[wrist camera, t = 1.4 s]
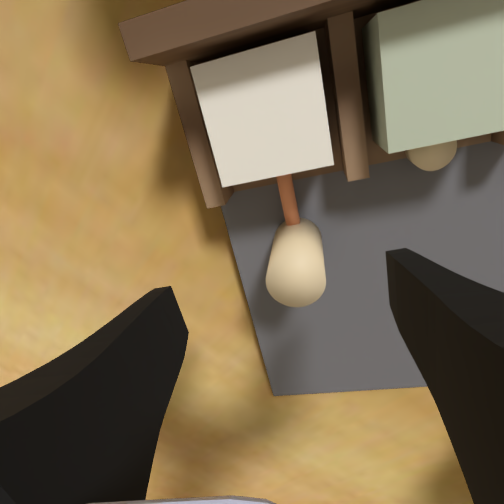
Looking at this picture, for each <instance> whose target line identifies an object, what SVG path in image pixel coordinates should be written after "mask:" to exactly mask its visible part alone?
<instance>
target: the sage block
mask: <svg viewBox="0 0 504 504" xmlns="http://www.w3.org/2000/svg"><path fill="white" fill-rule="evenodd" d="M362 38H363V48H364V59H365V69H366V80H367V90H368V101H369V111H370V122H371V132H372V140H373V141H374V142H375V143H376V144H377V145H379V146H380V147H381V148H382V149H383V150H385V151H386V152H387V153H388V154H390V153H395V152H400V151H405V153H406V156H407V158H408V159H409V161H410V162H412V163H413V164H414V165H416V166H417V167H418V168H420V169H422V170H425V171H435V170H439V169H441V168H443V167H445V166H446V165H447V164H449V163H450V161H451V160H452V159H453V157H454V156H455V153H456V150H457V141H456V140H460V139H465V138H470V137H474V136H479V135H484V134H489V133H494V132H499V131H504V0H421V1H418V2H414V3H411V4H407V5H404V6H400V7H397V8H393V9H390V10H386V11H383V12H379V13H377V14H376V15H375V16H374V17H373V18H372V19H371V20H370V21H369V22H368V23H367V24H366V25H365V26H364V27H363V28H362Z"/></svg>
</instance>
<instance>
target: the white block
mask: <svg viewBox="0 0 504 504" xmlns="http://www.w3.org/2000/svg"><path fill="white" fill-rule="evenodd" d="M190 69H191V73H192V77H193V80H194V84H195V88H196V91H197V95H198V99H199V103H200V106H201V110H202V114H203V117H204V121H205V125H206V128H207V132H208V136H209V140H210V143H211V147H212V151H213V154H214V158H215V162H216V165H217V169H218V173H219V177H220V180H221V184H222V187H227V186H232V185H237V184H242V183H247V182H252V181H257V180H262V179H267V178H272V177H276V178H277V183H278V188H279V193H280V198H281V202H282V207H283V212H284V217H285V221H284V222H283V223H282V224H281V225H280V226H279V227H278V228H277V230H276V232H275V236H274V240H273V245H272V250H271V255H270V259H269V264H268V269H267V274H266V287H267V290H268V292H269V293H270V295H271V296H272V297H273V298H274V299H275V300H276V301H278V302H279V303H281V304H283V305H286V306H289V307H304V306H307V305H310V304H312V303H314V302H315V301H317V300H318V299H319V298H320V297H321V295H322V294H323V292H324V290H325V287H326V275H325V265H324V255H323V245H322V236H321V232H320V230H319V228H318V227H317V226H316V225H315V224H314V223H313V222H312V221H310V220H308V219H305V218H299V213H298V207H297V202H296V197H295V191H294V186H293V181H292V176H291V174H292V173H296V172H301V171H306V170H311V169H316V168H321V167H326V166H331V165H334V161H333V154H332V146H331V139H330V132H329V125H328V118H327V111H326V104H325V96H324V89H323V82H322V75H321V68H320V61H319V54H318V47H317V39H316V32H315V31H313V32H310V33H306V34H303V35H299V36H296V37H292V38H289V39H285V40H282V41H278V42H275V43H271V44H268V45H264V46H261V47H258V48H254V49H251V50H247V51H244V52H240V53H237V54H233V55H230V56H226V57H223V58H219V59H216V60H212V61H209V62H205V63H202V64H198V65H195V66H191V67H190Z"/></svg>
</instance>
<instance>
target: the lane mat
mask: <svg viewBox="0 0 504 504" xmlns="http://www.w3.org/2000/svg"><path fill="white" fill-rule="evenodd" d="M368 166H369V176H370V178H365V179H360V180H355V181H349V182H348V181H347V178H346V176H345V174H344V171H338V172H333V173H328V174H323V175H318V176H312V177H307V178H302V179H297V180H292V181H293V186H294V191H295V197H296V202H297V207H298V213H299V218H305V219H308V220H310V221H312V222H313V223H314V224H315V225H316V226H317V227H318V228H319V230H320V232H321V236H322V245H323V255H324V265H325V275H326V287H325V290H324V292H323V294H322V295H321V297H320V298H319V299H318V300H317V301H315V302H314V303H312V304H310V305H307V306H304V307H289V306H286V305H283V304H281V303H279V302H278V301H276V300H275V299H274V298H273V297H272V296H271V295H270V293H269V292H268V290H267V287H266V274H267V269H268V264H269V259H270V255H271V250H272V245H273V240H274V236H275V232H276V230H277V228H278V227H279V226H280V225H281V224H282V223H283V222H284V221H285V217H284V212H283V207H282V202H281V198H280V193H279V188H278V183H277V184H272V185H267V186H262V187H257V188H252V189H247V190H242V191H237V192H234V193H233V194H232V196H231V197H230V199H229V200H228V202H227V203H226V205H223V206H221V208H222V212H223V216H224V219H225V223H226V226H227V230H228V234H229V237H230V241H231V244H232V248H233V252H234V255H235V259H236V262H237V266H238V270H239V273H240V277H241V280H242V284H243V288H244V291H245V295H246V298H247V302H248V306H249V309H250V313H251V316H252V320H253V324H254V327H255V331H256V334H257V338H258V341H259V345H260V349H261V352H262V356H263V359H264V363H265V367H266V370H267V374H268V377H269V381H270V385H271V388H272V392H273V395H274V396H282V395H298V394H314V393H330V392H346V391H361V390H377V389H393V388H409V387H424V386H427V384H426V382H425V380H424V378H423V377H422V375H421V373H420V371H419V369H418V367H417V365H416V363H415V361H414V359H413V358H412V356H411V354H410V352H409V350H408V348H407V346H406V344H405V342H404V340H403V338H402V336H401V334H400V332H399V330H398V327H397V325H396V322H395V319H394V316H393V314H392V311H391V308H390V305H389V292H388V278H387V265H386V252H385V251H390V250H396V249H402V248H407V249H410V250H412V251H414V252H416V253H418V254H420V255H422V256H423V257H425V258H427V259H429V260H431V261H433V262H435V263H437V264H439V265H441V266H443V267H445V268H447V269H449V270H451V271H453V272H455V273H457V274H459V275H462V276H464V277H466V278H468V279H471V280H473V281H475V282H478V283H480V284H483V285H485V286H487V287H490V288H493V289H495V290H498V291H501V292H504V145H502V144H499V143H495V142H492V141H489V142H484V143H479V144H474V145H469V146H464V147H459V148H457V150H456V153H455V156H454V157H453V159H452V160H451V161H450V163H449V164H447V165H446V166H445V167H443V168H441V169H439V170H435V171H425V170H422V169H420V168H418V167H417V166H416V165H414V164H413V163H412V162H410V161H409V159H408V158H403V159H398V160H393V161H388V162H383V163H378V164H373V165H368Z"/></svg>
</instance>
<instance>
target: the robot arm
mask: <svg viewBox="0 0 504 504" xmlns="http://www.w3.org/2000/svg"><path fill="white" fill-rule="evenodd" d="M385 252H386V265H387V278H388V292H389V305H390V308H391V311H392V314H393V316H394V319H395V322H396V325H397V327H398V330H399V332H400V334H401V336H402V338H403V340H404V342H405V344H406V346H407V348H408V350H409V352H410V354H411V356H412V358H413V359H414V361H415V363H416V365H417V367H418V369H419V371H420V373H421V375H422V377H423V378H424V380H425V382H426V384H427V386H428V388H429V390H430V392H431V394H432V396H433V398H434V400H435V403H436V405H437V407H438V410H439V412H440V415H441V417H442V420H443V422H444V425H445V427H446V430H447V432H448V435H449V437H450V440H451V443H452V445H453V448H454V451H455V453H456V456H457V459H458V461H459V464H460V466H461V469H462V472H463V474H464V477H465V480H466V483H467V485H468V488H469V491H470V494H471V496H472V499H473V502H474V504H504V292H501V291H498V290H495V289H493V288H490V287H487V286H485V285H483V284H480V283H478V282H475V281H473V280H471V279H468V278H466V277H464V276H462V275H459V274H457V273H455V272H453V271H451V270H449V269H447V268H445V267H443V266H441V265H439V264H437V263H435V262H433V261H431V260H429V259H427V258H425V257H423V256H422V255H420V254H418V253H416V252H414V251H412V250H410V249H407V248H402V249H396V250H390V251H385ZM188 333H189V332H188V329H187V327H186V324H185V322H184V319H183V316H182V314H181V311H180V309H179V306H178V303H177V301H176V298H175V295H174V293H173V290H172V288H171V286H168V287H162V288H156V289H153V290H152V291H150V292H148V293H147V294H145V295H144V296H143V297H141V298H140V299H139V300H137V301H136V302H135V303H133V304H132V305H131V306H129V307H128V308H127V309H126V310H124V311H123V312H122V313H120V314H119V315H118V316H116V317H115V318H114V319H113V320H111V321H110V322H109V323H107V324H106V325H104V326H103V327H102V328H100V329H99V330H98V331H96V332H95V333H93V334H92V335H91V336H89V337H88V338H87V339H85V340H84V341H82V342H81V343H79V344H78V345H76V346H75V347H73V348H72V349H70V350H68V351H67V352H65V353H64V354H62V355H60V356H59V357H57V358H55V359H54V360H52V361H50V362H49V363H47V364H45V365H43V366H41V367H39V368H37V369H36V370H34V371H32V372H30V373H28V374H26V375H24V376H22V377H21V378H19V379H17V380H15V381H13V382H11V383H9V384H7V385H4V386H2V387H0V504H276V503H273V502H271V501H269V500H267V499H260V498H251V497H241V496H214V497H195V498H176V499H158V500H145V499H146V493H147V488H148V483H149V478H150V473H151V468H152V463H153V458H154V454H155V449H156V445H157V441H158V436H159V432H160V428H161V425H162V422H163V418H164V415H165V412H166V409H167V406H168V404H169V401H170V398H171V395H172V392H173V389H174V386H175V383H176V381H177V378H178V375H179V372H180V369H181V366H182V363H183V360H184V356H185V351H186V346H187V340H188Z"/></svg>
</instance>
